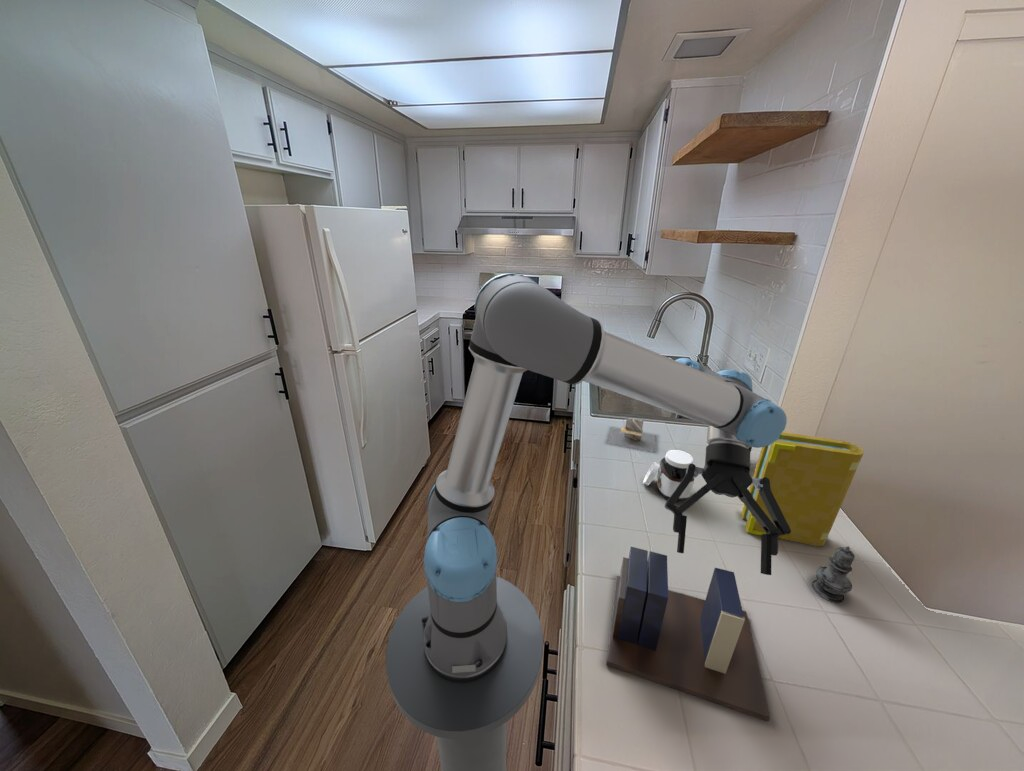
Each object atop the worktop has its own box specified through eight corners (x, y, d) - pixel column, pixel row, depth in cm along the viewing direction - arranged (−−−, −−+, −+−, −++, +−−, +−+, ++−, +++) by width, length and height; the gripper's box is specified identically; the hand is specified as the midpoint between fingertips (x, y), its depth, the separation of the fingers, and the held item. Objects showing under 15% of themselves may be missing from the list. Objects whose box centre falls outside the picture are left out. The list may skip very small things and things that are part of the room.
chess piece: (834, 608, 74) (856, 562, 70) (803, 584, 79) (822, 539, 75) (853, 598, 76) (875, 553, 72) (821, 575, 81) (841, 531, 77)
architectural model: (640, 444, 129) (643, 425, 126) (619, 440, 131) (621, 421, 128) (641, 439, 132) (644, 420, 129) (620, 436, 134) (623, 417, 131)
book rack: (606, 664, 65) (615, 607, 59) (616, 578, 80) (624, 527, 75) (768, 721, 57) (796, 662, 52) (745, 614, 73) (764, 560, 68)
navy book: (704, 667, 63) (722, 613, 58) (699, 618, 71) (714, 567, 66) (725, 674, 63) (745, 620, 57) (718, 623, 70) (734, 572, 65)
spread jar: (693, 504, 102) (702, 468, 97) (650, 503, 102) (657, 467, 97) (676, 476, 113) (683, 442, 108) (638, 476, 113) (643, 442, 108)
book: (746, 532, 92) (775, 443, 83) (740, 514, 98) (766, 429, 89) (829, 550, 88) (870, 457, 78) (818, 529, 94) (854, 441, 84)
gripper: (794, 463, 74) (795, 582, 67) (658, 440, 82) (645, 544, 75) (812, 455, 67) (815, 585, 60) (662, 430, 75) (649, 544, 68)
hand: (721, 563), depth 68 cm, fingers open, 13 cm apart
